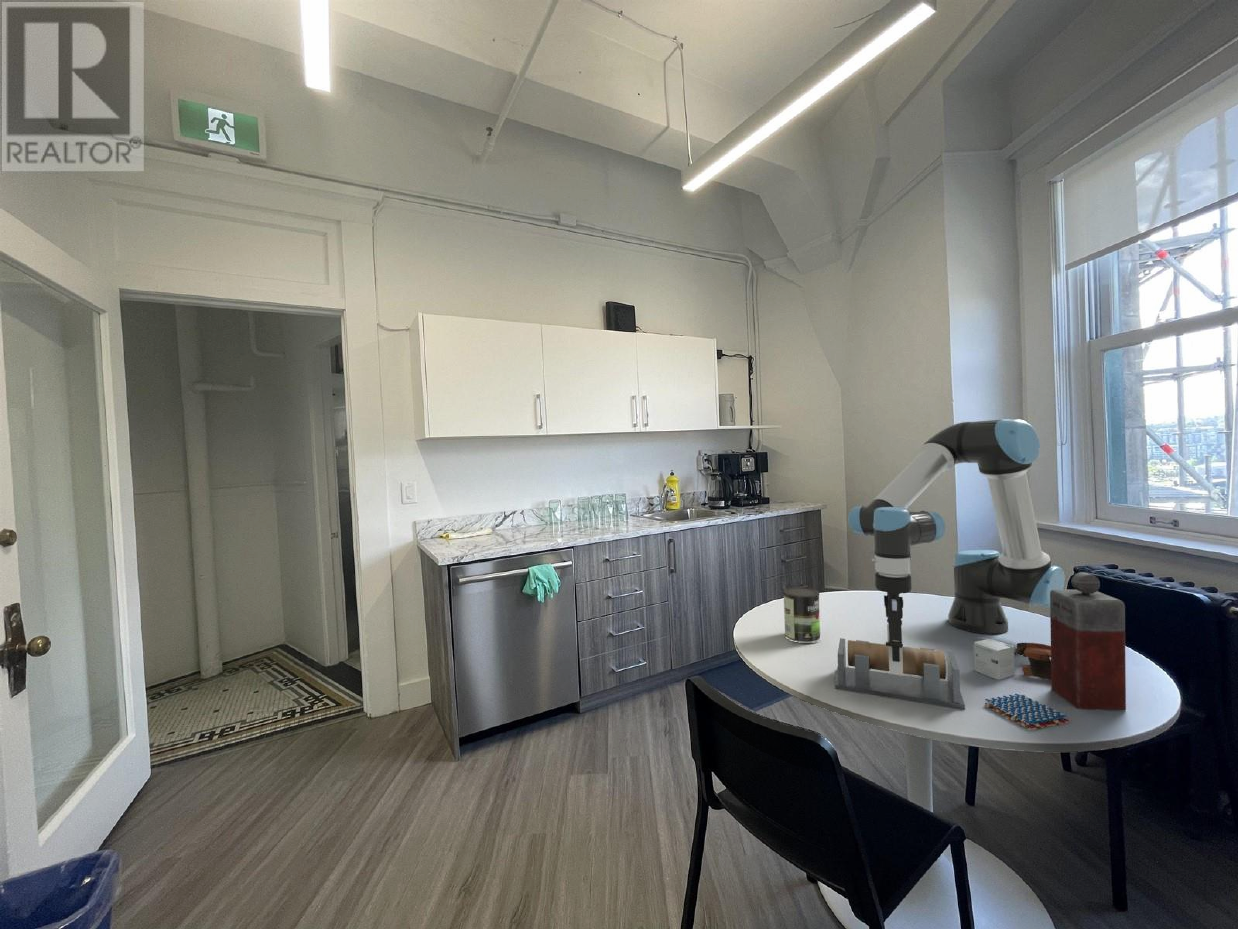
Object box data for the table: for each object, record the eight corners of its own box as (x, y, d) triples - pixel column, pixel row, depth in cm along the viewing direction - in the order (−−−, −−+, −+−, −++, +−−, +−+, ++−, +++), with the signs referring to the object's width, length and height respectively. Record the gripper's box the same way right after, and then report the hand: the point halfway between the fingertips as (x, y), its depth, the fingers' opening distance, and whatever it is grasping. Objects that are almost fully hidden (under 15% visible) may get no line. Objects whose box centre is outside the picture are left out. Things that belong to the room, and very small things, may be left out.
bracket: (957, 687, 120) (956, 651, 120) (965, 709, 110) (964, 671, 110) (837, 669, 132) (836, 637, 131) (834, 688, 122) (833, 653, 121)
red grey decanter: (1088, 685, 118) (1086, 566, 117) (1126, 711, 107) (1125, 578, 106) (1044, 684, 119) (1042, 566, 118) (1078, 708, 108) (1076, 578, 107)
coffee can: (827, 637, 153) (825, 590, 153) (809, 647, 147) (808, 598, 146) (795, 629, 161) (794, 584, 161) (777, 638, 154) (776, 592, 154)
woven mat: (1030, 734, 101) (1030, 724, 101) (982, 707, 111) (982, 698, 111) (1072, 726, 103) (1072, 716, 103) (1021, 700, 114) (1021, 691, 114)
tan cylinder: (942, 672, 119) (942, 647, 119) (946, 684, 114) (945, 658, 113) (849, 659, 128) (848, 636, 128) (848, 670, 123) (847, 646, 122)
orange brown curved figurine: (1008, 674, 126) (1005, 640, 130) (1027, 682, 130) (1024, 649, 133) (1068, 679, 116) (1063, 642, 120) (1087, 688, 120) (1081, 651, 124)
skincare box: (973, 670, 128) (972, 641, 128) (989, 666, 130) (989, 637, 130) (998, 680, 122) (998, 650, 122) (1015, 675, 124) (1014, 646, 124)
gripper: (874, 560, 133) (877, 641, 133) (874, 586, 110) (877, 682, 111) (907, 562, 129) (909, 644, 130) (914, 589, 107) (917, 688, 108)
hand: (895, 662), depth 121 cm, fingers open, 13 cm apart
